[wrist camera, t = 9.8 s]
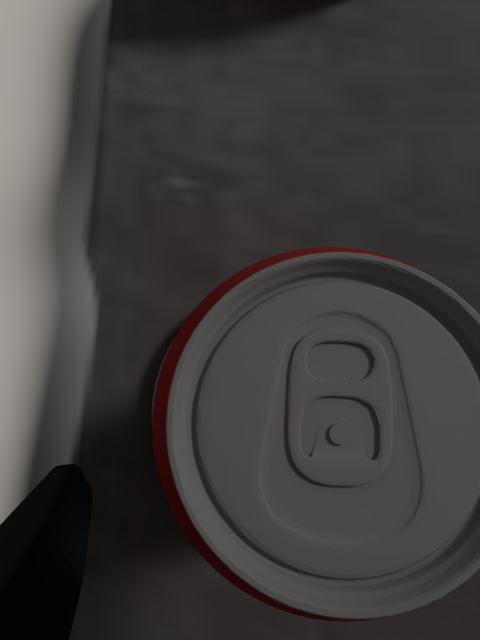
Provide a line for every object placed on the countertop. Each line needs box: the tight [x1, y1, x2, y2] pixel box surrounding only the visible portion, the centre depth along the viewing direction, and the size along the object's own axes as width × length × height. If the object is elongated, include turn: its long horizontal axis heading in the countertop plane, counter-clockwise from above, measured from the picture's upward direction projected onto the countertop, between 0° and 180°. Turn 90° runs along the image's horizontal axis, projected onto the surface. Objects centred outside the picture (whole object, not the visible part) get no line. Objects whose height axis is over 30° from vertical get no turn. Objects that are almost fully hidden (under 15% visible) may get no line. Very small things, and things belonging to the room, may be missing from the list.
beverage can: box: [152, 247, 480, 622], centre depth 13 cm, size 7×7×12 cm
